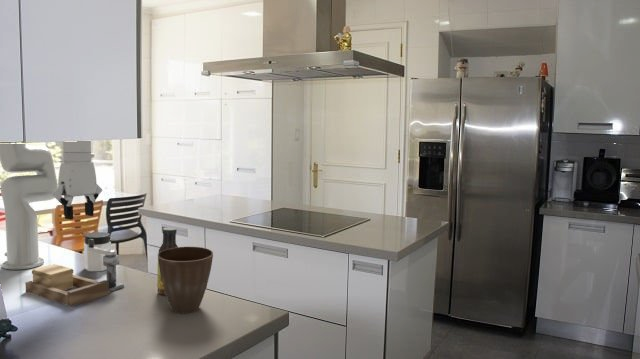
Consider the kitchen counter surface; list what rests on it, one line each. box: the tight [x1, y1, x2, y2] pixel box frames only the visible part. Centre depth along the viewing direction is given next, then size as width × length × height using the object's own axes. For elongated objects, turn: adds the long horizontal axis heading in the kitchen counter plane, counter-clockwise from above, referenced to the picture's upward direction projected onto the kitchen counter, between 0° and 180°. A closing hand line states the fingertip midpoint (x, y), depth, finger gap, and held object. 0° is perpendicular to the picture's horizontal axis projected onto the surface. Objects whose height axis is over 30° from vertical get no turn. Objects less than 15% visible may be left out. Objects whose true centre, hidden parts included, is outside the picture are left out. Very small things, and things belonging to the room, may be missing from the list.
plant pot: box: [157, 246, 214, 314], centre depth 138 cm, size 15×15×16 cm
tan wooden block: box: [31, 263, 74, 291], centre depth 151 cm, size 9×7×6 cm
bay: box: [24, 274, 110, 307], centre depth 148 cm, size 22×12×4 cm, turn 61°
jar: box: [83, 231, 112, 272], centre depth 172 cm, size 9×8×12 cm
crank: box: [88, 239, 118, 257], centre depth 154 cm, size 12×3×4 cm, turn 61°
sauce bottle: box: [156, 227, 179, 296], centre depth 150 cm, size 6×6×20 cm
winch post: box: [103, 254, 125, 293], centre depth 153 cm, size 5×5×10 cm
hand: (79, 216), depth 149 cm, fingers open, 6 cm apart
